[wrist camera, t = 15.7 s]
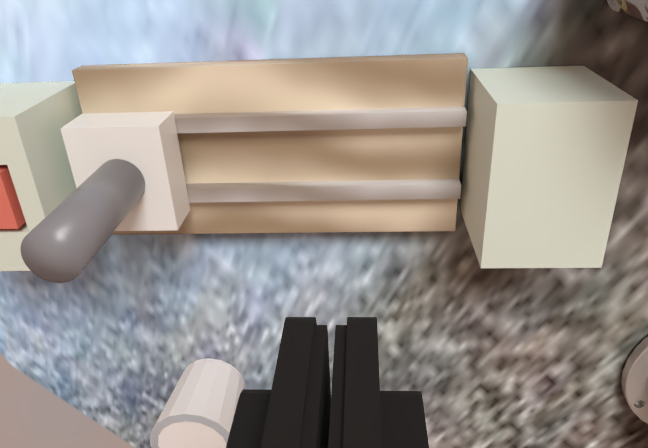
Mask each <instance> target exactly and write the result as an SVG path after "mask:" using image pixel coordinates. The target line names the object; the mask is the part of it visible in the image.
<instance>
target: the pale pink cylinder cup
mask: <svg viewBox="0 0 648 448" xmlns="http://www.w3.org/2000/svg"><path fill="white" fill-rule="evenodd" d="M242 390H244V381H243V379H242V376H241V374H240V373H239V372H238V371H237V370H236V369H235V368H234V367H233V366H232V365H230V364H228V363H226V362H223V361H221V360H216V359H209V358H207V359H201V360H196V361H194V362H193V363H191V364H190V365H188V366H187V367H186V369H185V370H184V372H183V374H182V376H181V377H180V379H179V381H178V383H177V385H176V387H175V388H174V390H173V392H172V394H171V396H170V398H169V400H168V401H167V403H166V405H165V407H164V409H163V411H162V413H161V414H160V416H159V418H158V420H157V422H156V424H155V426H154V427H153V429H152V431H151V433H150V446H151V448H226V445H227V441H228V437H229V433H230V430H231V426H232V422H233V418H234V414H235V410H236V406H237V402H238V399H239V396H240V393H241V392H242Z"/></svg>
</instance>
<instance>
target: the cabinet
mask: <svg viewBox="0 0 648 448" xmlns="http://www.w3.org/2000/svg"><path fill="white" fill-rule="evenodd" d="M637 103H638V100H637V99H635V98H633V97H632V96H630V95H629V94H627V93H626V92H624V91H622V90H621V89H619V88H618V87H616V86H615V85H613V84H612V83H610V82H608V81H607V80H605V79H604V78H602V77H601V76H599V75H597V74H596V73H594V72H593V71H591V70H590V69H588V68H586V67H585V66H552V67H519V68H486V69H471V73H470V86H469V99H468V112H467V125H466V138H465V151H464V164H463V177H462V190H461V203H460V210H461V213H462V216H463V219H464V222H465V225H466V227H467V230H468V233H469V236H470V239H471V242H472V245H473V248H474V250H475V253H476V256H477V259H478V262H479V265H480V268H602V263H603V258H604V254H605V249H606V245H607V240H608V236H609V231H610V226H611V222H612V217H613V213H614V208H615V204H616V199H617V195H618V190H619V185H620V181H621V176H622V172H623V167H624V163H625V158H626V154H627V149H628V144H629V140H630V135H631V131H632V126H633V122H634V117H635V113H636V108H637Z"/></svg>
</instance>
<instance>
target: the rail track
mask: <svg viewBox="0 0 648 448" xmlns="http://www.w3.org/2000/svg"><path fill="white" fill-rule="evenodd" d="M467 64H468V58H467V56H466V55H465V54H464V53H455V54H425V55H394V56H363V57H332V58H301V59H270V60H239V61H208V62H177V63H146V64H115V65H84V66H80V67H78V68H76V69H74V70H72V73H73V77H74V81H75V85H76V89H77V93H78V97H79V101H80V105H81V109H82V113H83V114H87V113H126V112H164V111H173V112H174V118H175V124H176V130H177V136H178V141H179V147H180V153H181V159H182V165H183V171H184V176H185V182H186V188H187V194H188V200H189V205H190V211H189V213H188V214H187V216H186V218H185V219H184V221H183V223H182V224H181V226H180V228H179V229H178V230H171V231H113V233H112V234H210V233H307V232H404V231H455V226H456V213H457V199H460V196H461V183H460V180H459V172H460V159H461V145H462V132H463V127H466V118H467V110H466V108H465V107H464V105H465V91H466V78H467Z"/></svg>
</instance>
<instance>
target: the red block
mask: <svg viewBox="0 0 648 448" xmlns="http://www.w3.org/2000/svg"><path fill="white" fill-rule="evenodd" d="M25 222H26V221H25V218H24V215H23V212H22V209H21V206H20V203H19V199H18V196H17V193H16V190H15V187H14V184H13V181H12V178H11V175H10V172H9V169H8V166H7V165H0V229H18V228H20V227H21V226H22V225H23V224H24V223H25Z"/></svg>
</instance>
